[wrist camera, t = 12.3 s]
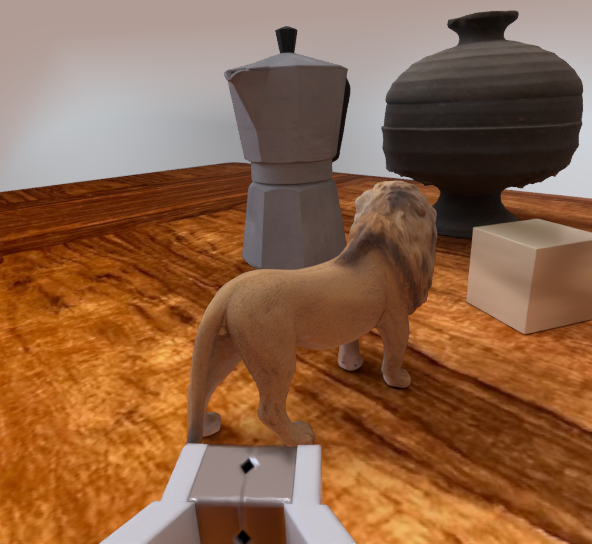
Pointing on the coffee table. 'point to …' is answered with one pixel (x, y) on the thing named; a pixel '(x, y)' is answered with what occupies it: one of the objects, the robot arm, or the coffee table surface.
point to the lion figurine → (319, 310)
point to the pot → (482, 121)
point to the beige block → (531, 274)
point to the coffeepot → (291, 155)
